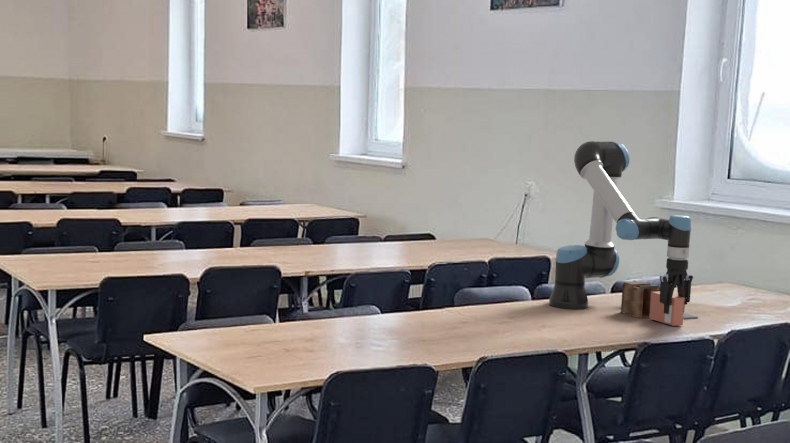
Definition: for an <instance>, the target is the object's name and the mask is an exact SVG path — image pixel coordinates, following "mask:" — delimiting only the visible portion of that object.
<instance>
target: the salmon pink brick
mask: <svg viewBox="0 0 790 443" xmlns="http://www.w3.org/2000/svg"><path fill="white" fill-rule="evenodd" d="M684 299H685V298H683V297H680V296H678V295H676V294H673V296H672V299H671V303H670V305H672V314H671V323H667V322H664V319H665V313H664V304H663V303H660V291H658V292H651V302H650V315H649V319H650V320H653V321H656V322H660V323H663V324H665V325H668V326H673V327H676V326H683V325H684V324H683V323H684V319H683V314H684V313H685V309H684Z"/></svg>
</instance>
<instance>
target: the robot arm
mask: <svg viewBox="0 0 790 443" xmlns="http://www.w3.org/2000/svg"><path fill="white" fill-rule="evenodd" d="M630 160H631V159H630V154H629V150H628V149H627V147H626V146H625V144H622V143H621V142H616V141H595V140H593V141H592V140H589V141H586V142H584V143H582V144H580V145H579V147H578V148H577V149H576V151H575V153H574V158H573V161H574V166H575V169H576V171H577V173H578V175H579V176H580V177H581V178H582V180H586V182H587V183H588V184H589V186H590V188H591V189H592V190H593V197H592V204H591V218H590V227H589V228H590V229H589V236H588V237H589V238H588V239H587V240H586V241H585V242H584V245H580V244H578V245H577V244H575V245H573V244H569V245H565V246H561V247H559V248H557V250H556V256H555V272H554V273H555V275H554V286H553V289H552V291H551V294H550V296H549V301H548V305H549V306H551V307H555V308H560V309H570V310H578V309H579V310H580V309H581V310H582V309H583V310H584V309H586V308H588V307H589V300H588V299H589V298H588V295H587V291H586V288H585V286H586V279H592V278H595V279H596V278H600V279H602V278H606V277H610V276H612V275H614V274H615V273H616V272H617V270H618V268H619V265H620V256H619V255H618V254H619V253H618V251H617V249H616V248H615V244H614V242H612V236H613V235H612V234H613V225H614V223H613V222H614V221H615V223H616V225H615V231H616V235H617V237H618V238H619V239H621V240H623V241H624V240H626V241H633V240H655V239H656V240H666V241H667V248H666V249H667V251H666V257H667V258H666V266H665V267H666V272H665V274H664V275H659V282H660V285H659V287H660V303H663V304H664V313H665V319H664V322H667V323H671V314H672V305H670V303H671V299H672V296H673V295H674V291H675V287H676V289H677V291H676V292H677V296H680V297H683V298H685V299H684V310H685V309H686V308H685V307H686V305H688V303H690V302H691V291H692V282H693V279H694V276H693V275H691V274H688V272H687V270H689V269H688V268H689V260H688V259H689V256H690V240H691V230H692V221H691V219H692V218H691V217H690V216H689V215H681V214H672V215H670V216H669V219H666V218H661V217H657V216H655V217H654V216H651V217H650V216H649V217H647V218H639V217H638V216H637V214H636V213H635V211H634V210H633V209H632V207H631V206H630V204H629V203H628V202H627V200H626V199H625V197H624V195H622V193H621V191H620V190H619V189H618V187H617V184H618V181H619V180H620V179H621V178H622V175H623V174H622V173H623V172H624V171H626V170H627V168H628V167H629V165H630Z"/></svg>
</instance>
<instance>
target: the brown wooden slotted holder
mask: <svg viewBox="0 0 790 443" xmlns="http://www.w3.org/2000/svg"><path fill="white" fill-rule="evenodd" d="M634 281H635V282H633V281H623V283H622V290H621V304H620V305H621V306H620V307H621V308H620V313H622V312H623V313H622V314H625V313H626V315H628V314H629V315H628V316H632V317H635V318H638V319H642V318H643V315H647V316H650V302H651V292H658V291H659V287H660V285H658V284H653V285H650V284H651V283H650V282H649V283H646V282H647V281H641V280H639V281H638V280H634Z"/></svg>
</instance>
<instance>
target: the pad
mask: <svg viewBox="0 0 790 443" xmlns="http://www.w3.org/2000/svg"><path fill="white" fill-rule="evenodd" d="M691 319H693V320H694V319H699V316H697V315H693V314H690V313H687V312H684V314H683V320H691Z"/></svg>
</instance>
